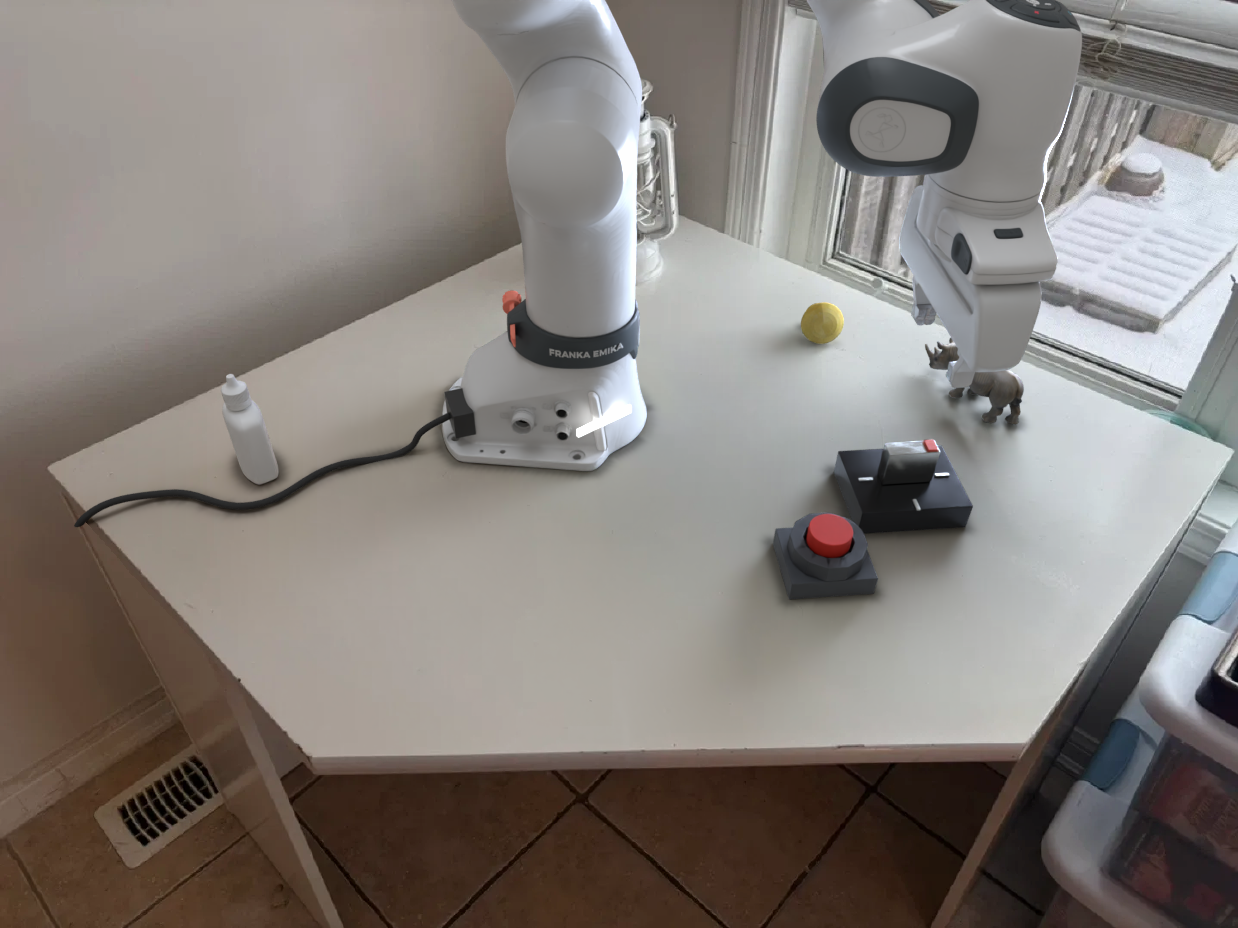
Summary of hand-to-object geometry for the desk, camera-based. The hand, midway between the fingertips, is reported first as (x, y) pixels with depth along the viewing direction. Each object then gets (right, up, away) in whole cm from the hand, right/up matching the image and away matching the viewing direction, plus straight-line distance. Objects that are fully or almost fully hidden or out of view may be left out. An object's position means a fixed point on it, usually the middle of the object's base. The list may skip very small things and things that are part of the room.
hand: (938, 350), depth 87 cm
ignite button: (-10, -17, +2) cm, 20 cm away
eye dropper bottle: (-66, -11, +14) cm, 68 cm away
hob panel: (0, -14, +12) cm, 18 cm away
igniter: (-10, -20, +4) cm, 23 cm away
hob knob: (0, -11, +10) cm, 15 cm away
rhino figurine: (+11, -2, +24) cm, 27 cm away
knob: (-4, +6, +33) cm, 34 cm away
